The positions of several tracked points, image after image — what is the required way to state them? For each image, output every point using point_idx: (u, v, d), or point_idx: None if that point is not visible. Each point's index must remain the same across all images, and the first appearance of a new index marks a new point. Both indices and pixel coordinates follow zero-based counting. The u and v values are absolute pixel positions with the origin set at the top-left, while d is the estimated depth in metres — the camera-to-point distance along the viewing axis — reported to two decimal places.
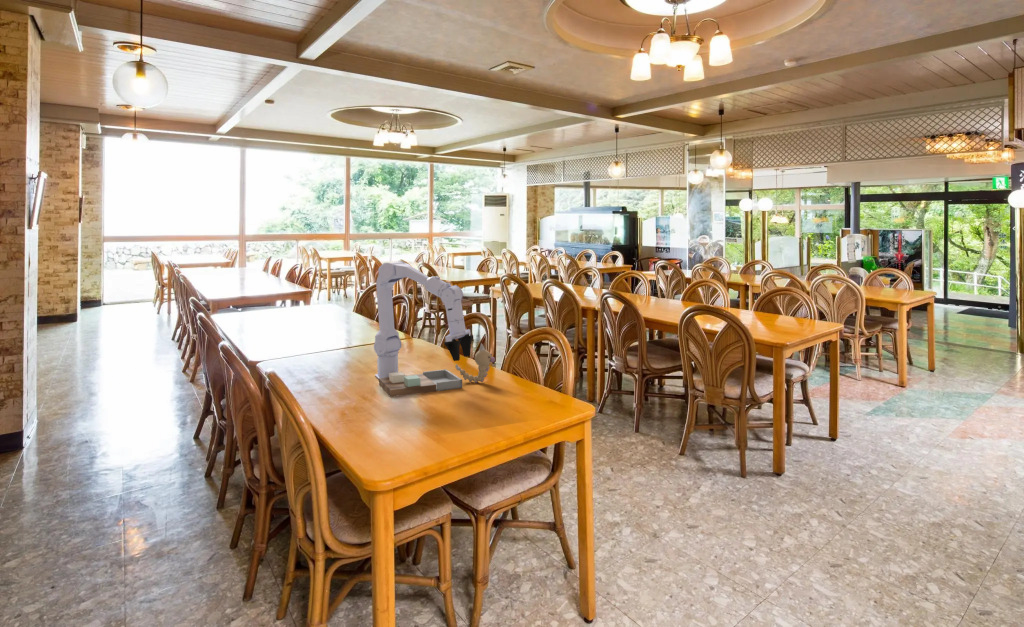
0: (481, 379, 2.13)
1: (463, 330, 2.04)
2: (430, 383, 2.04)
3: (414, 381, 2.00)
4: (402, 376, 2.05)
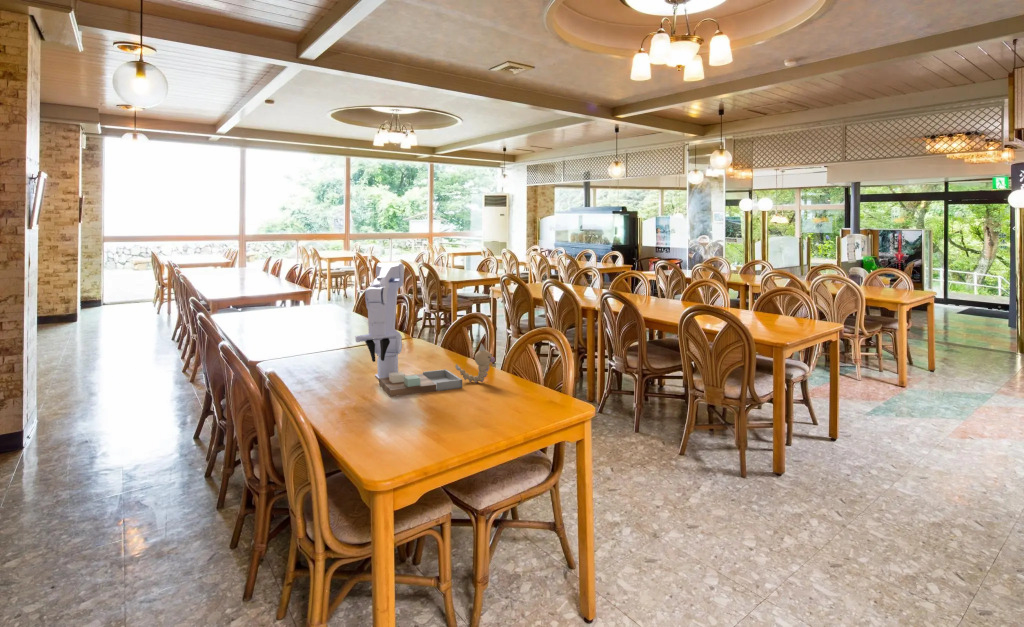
0: (481, 379, 2.13)
1: (377, 334, 1.99)
2: (430, 383, 2.04)
3: (414, 381, 2.00)
4: (402, 376, 2.05)
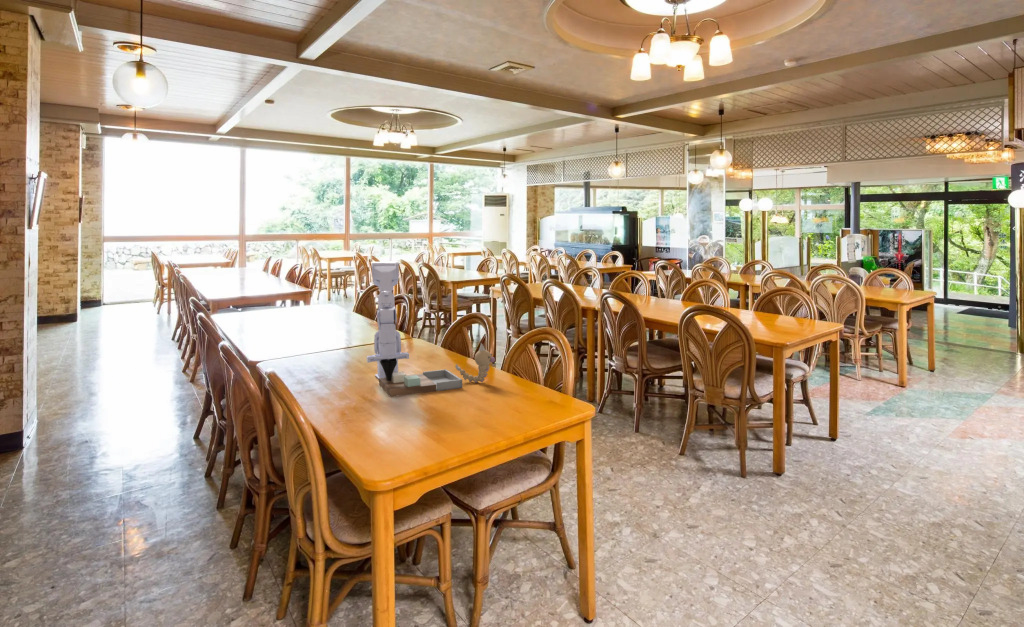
0: (481, 379, 2.13)
1: (388, 354, 2.02)
2: (430, 383, 2.04)
3: (414, 381, 2.00)
4: (403, 376, 2.06)
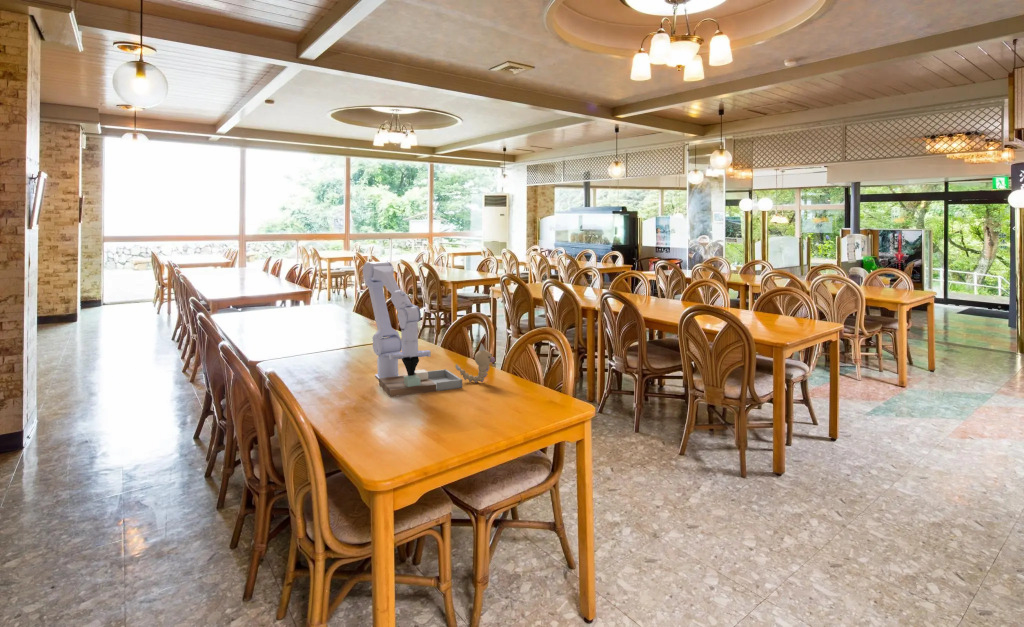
0: (481, 379, 2.13)
1: (410, 352, 2.05)
2: (430, 383, 2.04)
3: (414, 381, 2.00)
4: (425, 373, 2.09)
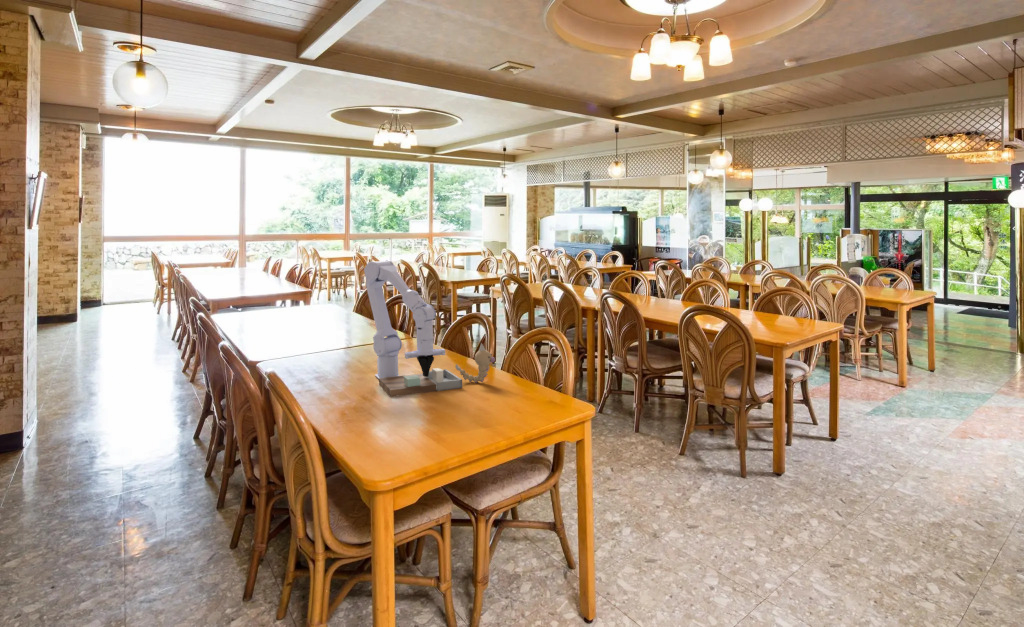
0: (481, 379, 2.13)
1: (425, 351, 2.07)
2: (430, 383, 2.04)
3: (414, 381, 2.00)
4: (441, 380, 2.12)
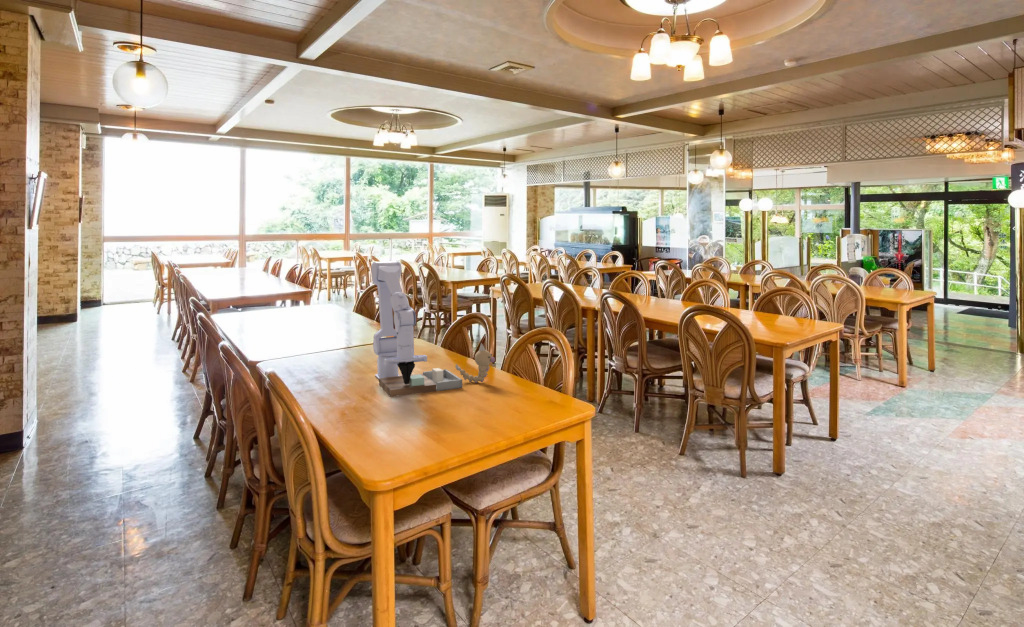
0: (481, 379, 2.13)
1: (406, 357, 1.97)
2: (430, 383, 2.04)
3: (418, 381, 2.01)
4: (441, 380, 2.12)
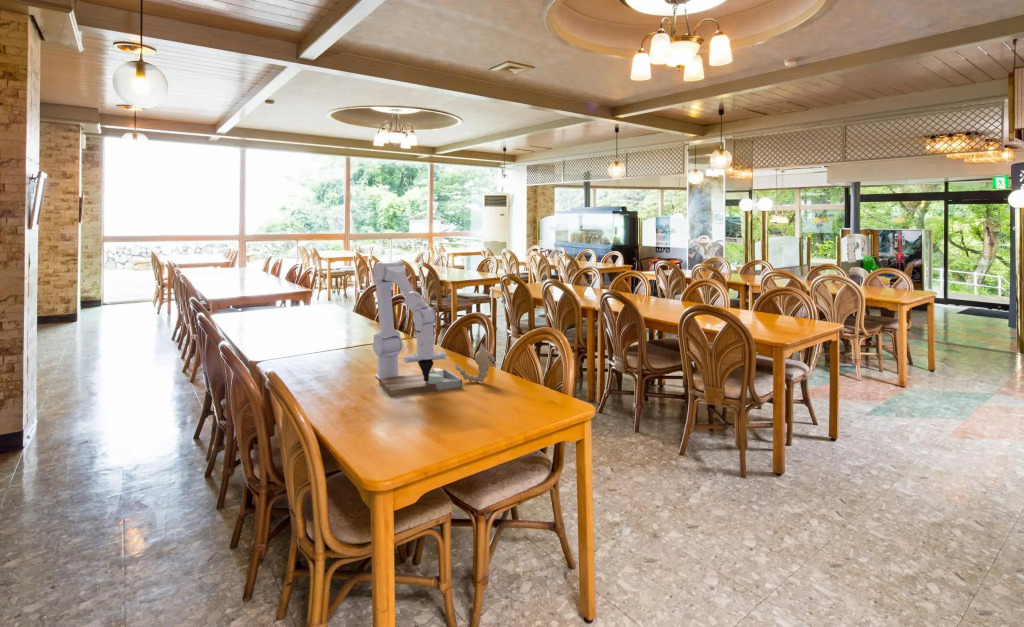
0: (481, 379, 2.13)
1: (425, 355, 2.00)
2: None
3: (435, 379, 2.03)
4: None
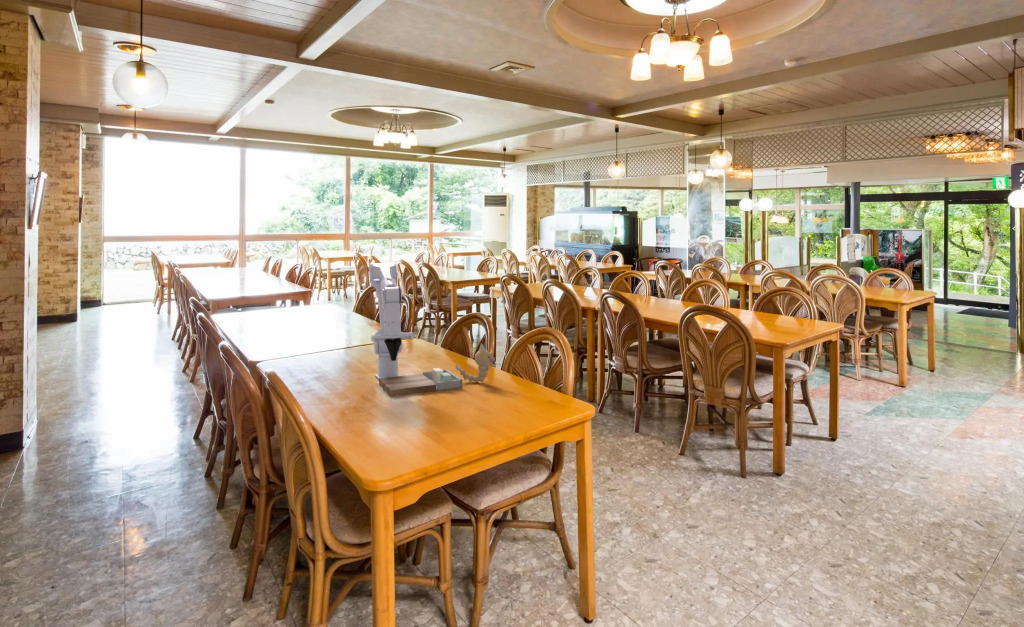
0: (481, 379, 2.13)
1: (392, 333, 2.00)
2: (430, 383, 2.04)
3: None
4: None
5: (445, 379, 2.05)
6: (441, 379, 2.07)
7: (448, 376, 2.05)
